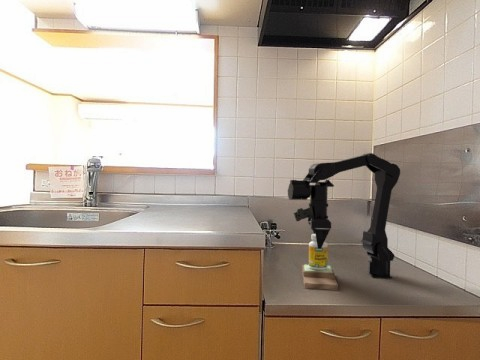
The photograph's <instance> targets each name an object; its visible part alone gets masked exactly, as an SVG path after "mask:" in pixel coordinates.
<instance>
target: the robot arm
mask: <svg viewBox="0 0 480 360" xmlns="http://www.w3.org/2000/svg"><path fill="white" fill-rule="evenodd" d="M361 167H366V168H367V169H368V170H369V171H370V172H371V173H373V174H374V182H375V187H376V193H375V199H374V205H373V209H372V214H371V215H372V216H371V222H370V227H369V228H368V230H363V232H362V239H361V241H360V242H361V243H362V248H363V250H365V252H366V256H369V260H368V261H367V272H368V274H369V275H370V277H372V278H379V279H380V278H381V279H393V277H392V276H391V261H392V262H393V261H394V259H395V254H394V253H393V252H392V250H390V248H389V244H388V243H389V241H388V239H389V238H388V236H387V232H386V227H387V220H388V216H389V215H388V214H389V209H390V205H391V204H390V203H391V197H392V191H393V189H394V188H395V186H396V185H397V183H398V181H399V179H400V176H401V168H400V167H399V166H398V165H397V164H396V163H392V162H390V161H388V160H386V159H384V158H381V157H379V156H378V155H377V154H375V153H372V152H369V153H364V154H361V155H358V156H353V157H350V158H349V157H348V158H347V159H346V158H345V159H341V160H338V161H335V162H332V161H331V162H320V163H319V162H317V163H313V164H311V165H310V166H309V168H308V173H307V174H306V175H305V176H304V177H303V180H298V179H297V180H296V179H290V180H289V185H288V187H287V197H288V199H289V200H290V201H307V200H308V199H310V202H309V203H308V206H307V207H300V208H297V210H294V211H293V215H294V218H295V222H300V221H301V220H305V219H307V223H308V225H309V226H310V229H311V230H312V234H315V235H316V241H317V247H318V249H321V248H322V246H323V244H324V242H326V239H327V236H328V235H329V233H330V231H331V229H332V222H331V221H330V220H329V215H328V207H329V203H328V193H329V192H328V189H329V187H330V188H334V187H335V185H334V184H333V183H332V182H331V181H330V178H332V177H334V176H335V175H337V174H339V173H342V172H346V171H349V170H353V169H357V168H361Z"/></svg>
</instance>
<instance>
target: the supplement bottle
mask: <svg viewBox="0 0 480 360" xmlns="http://www.w3.org/2000/svg"><path fill="white" fill-rule="evenodd" d="M310 238H311V241H309V243H308V265H309V268H311V269H314V270H325V269H327V267H328V266H329V265H328V262H329V261H328V260H329V258H328V257H329V254H328V251H329V250H328V246H329V245H328V243H327V242H326V241H324V244H323V246H322V248H321V249H318V247H317V241H316V235H315V234H314V233H312V234H311V237H310Z"/></svg>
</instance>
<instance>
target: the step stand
mask: <svg viewBox="0 0 480 360" xmlns="http://www.w3.org/2000/svg"><path fill="white" fill-rule="evenodd" d="M301 275H302V280H303V281H302V282H303V286H304V289H317V290H319V289H320V290H332V291H334V290H335V291H336V290H337V291H339V284H338V282H337V280H336V278H335V275H336V274H335V271H334V270H333V268H332V266H331V265H328V267H327V269H325V270H314V269H311V268H309V264H302V265H301Z"/></svg>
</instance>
